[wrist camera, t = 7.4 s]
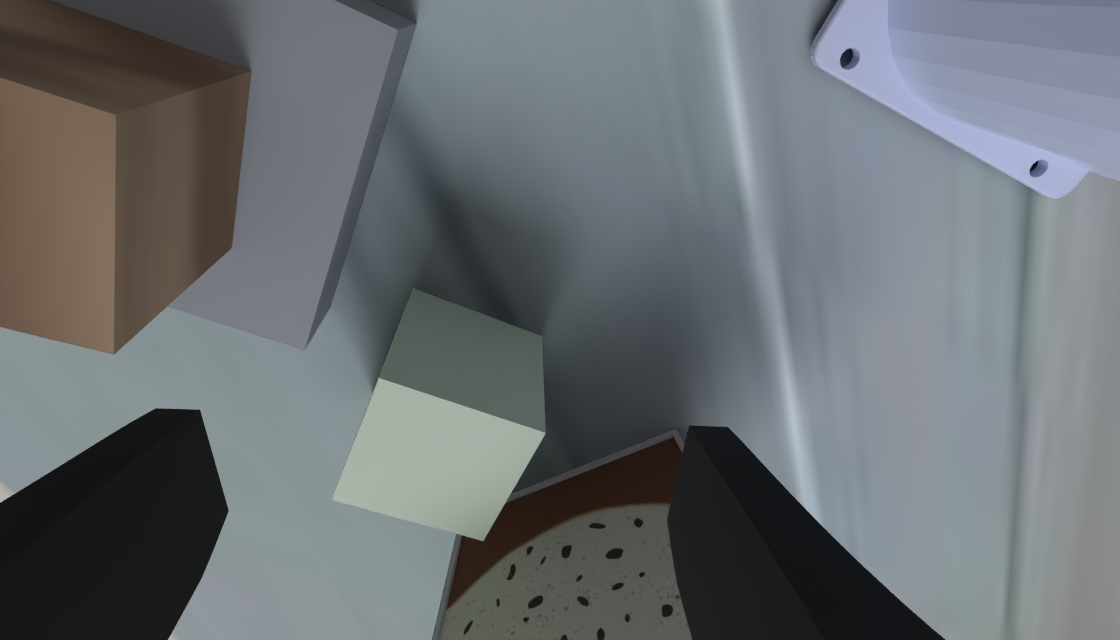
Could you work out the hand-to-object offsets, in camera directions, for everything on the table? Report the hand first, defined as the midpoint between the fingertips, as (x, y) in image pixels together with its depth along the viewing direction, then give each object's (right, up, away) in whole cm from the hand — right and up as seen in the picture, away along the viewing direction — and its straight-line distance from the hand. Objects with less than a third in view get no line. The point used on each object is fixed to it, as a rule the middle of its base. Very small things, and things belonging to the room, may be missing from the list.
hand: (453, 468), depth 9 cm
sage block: (-2, +1, +11) cm, 11 cm away
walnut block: (-8, +7, +5) cm, 11 cm away
